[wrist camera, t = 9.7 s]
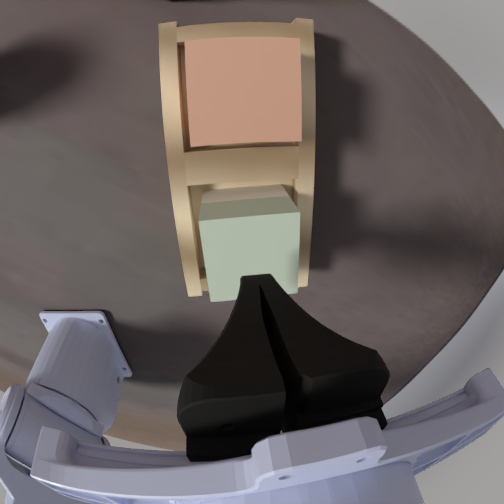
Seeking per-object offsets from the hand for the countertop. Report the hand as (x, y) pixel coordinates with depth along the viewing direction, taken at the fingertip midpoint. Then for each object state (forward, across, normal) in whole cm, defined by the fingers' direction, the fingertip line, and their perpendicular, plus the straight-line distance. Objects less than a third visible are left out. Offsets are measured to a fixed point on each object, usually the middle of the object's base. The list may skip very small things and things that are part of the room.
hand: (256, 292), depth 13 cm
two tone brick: (+8, 0, 0) cm, 8 cm away
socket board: (+9, 0, -4) cm, 10 cm away
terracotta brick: (+8, 0, -9) cm, 12 cm away
